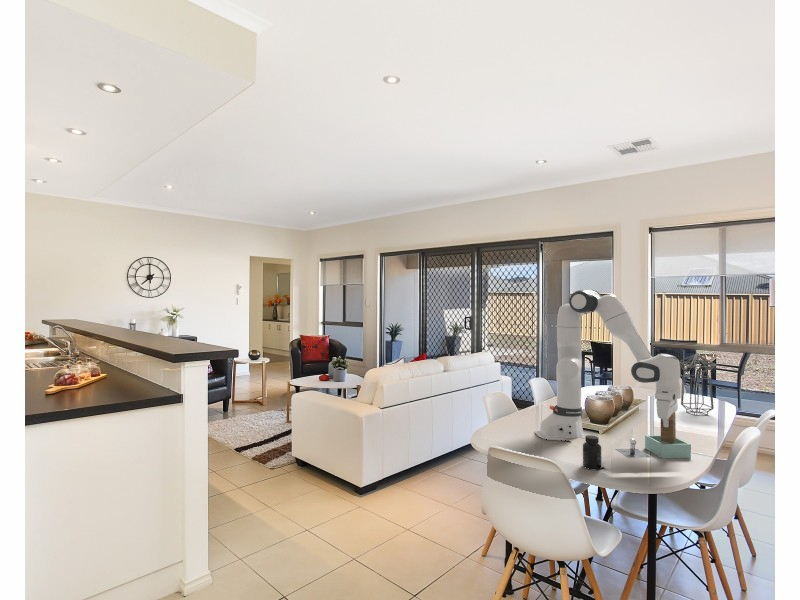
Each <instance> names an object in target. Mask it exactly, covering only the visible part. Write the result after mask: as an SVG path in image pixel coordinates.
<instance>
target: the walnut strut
mask: <svg viewBox="0 0 800 600" xmlns="http://www.w3.org/2000/svg"><path fill="white" fill-rule="evenodd" d="M676 419H677V418H676V412H674V413H673V414H672V415H671V416H670V417H669V427H664V426H663V419H662V418H660V435H661V441H663V442H668V443H674V442H675V441H676V438H677V436H676V433H677V430H676V429H677V428H676V424H677V423H676V421H677V420H676Z"/></svg>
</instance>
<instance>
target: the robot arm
mask: <svg viewBox="0 0 800 600" xmlns="http://www.w3.org/2000/svg"><path fill="white" fill-rule="evenodd" d="M593 312H595V313H597V314H598V315H599V316H600V318H601V320H602V322H603V323H604V326H605V328H606V329H607V330H608V332H609V333H610V334H611V335H612V336H614V338H618V339H619V340H621V341H622V342H624V343H625V344H626V345H627V346H628V348H629V350H630V351H631V353H632V355H633V356H634V359H636V362H635V363H634V364H633V365H632V366H631V368H630V372H631V376H632V378H633V379H634V380H636V382H638V383H643V384H648V383H655V393H654V400H655V399H656V402H655V403H656V415H657V417H658V419H661V418H662V419H663V426H664V427H669V417H670V416H671V415H672V414H673V413H674V412H675V413H676V412H678V399H681V384H680V378H681V367H680V365H681V364H680V363H679V361H680V360H679V359H678V358H677V356H675V355H672V354H668V353H658V354H657V355H655V356H654V355H652V353H651V352H650V351H649V349H648V348H647V346H646V344H645V343H644V341H643V339H642V338H641V336H640V334H639V333H638V331H637V329H636V326H635V323H634V321H633V320H632V317H631V315H630V314H629V312H628V309H626V307H625V305H624V304H623V302H622V301H621V299H619V297H618V296H617V295H616V294H611V293H610V294H604V295H601V293H600V292H598V291H597V290H594V289H579V290H576V291H574V292H573V293H572V294H571V295H570V297H569V299H568V303H565V304H562V305H560V306H559V309H558V312H557V319H556V343H557V346H556V347H557V363H556V367H555V369H556V370H555V371H556V404H555V406H554V405H549V406H548V407H549V409H550V410H552V413H550V414H549V415H548V416H546V417H545V418H543V419H542V420H541V422H540V426H539V428H538V429H535V431H534V432H535V434H536V436H538V437H539V438H541V439H543V440H546V439H547V441H561V440H562V441H563V442H565V440H566V442H570V440H569V439H585V434H584V429H583V422H582V418H583V408H582V366H583V365H582V364H583V358H582V354H583V352H582V318H583V315H588V314H590V313H593ZM562 441H561V442H562Z"/></svg>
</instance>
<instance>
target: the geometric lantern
mask: <svg viewBox="0 0 800 600" xmlns="http://www.w3.org/2000/svg"><path fill="white" fill-rule="evenodd" d="M685 360H686V361H685ZM679 363H680V369H681V370H683V375H681V376H682V379H681V381H682V382H681V393H680V405H681V406H682V407H683V408H684V409H685V412H686V413H688V415H689V414H690V415H692V416H695V417H696V416H698V417H699V416H700V417H701V416H702V417H703V416H704V417H706V416H709V413H710V412H711V411H712V410H714V407H715V406H714V397H713V396H714V395H713V394H714V393H713V381H712V377H711V376H712V371H711V370H713V369H714V368H715V367H717V366H718V364H716V363H715V362H713V361H710V359H708V358H705V357H703V356H702V355H700V354H697V353H695V354H692V355H690V356H687V357H684V358H682V359H680V360H679ZM701 363H702V366H701ZM697 364H698V365H697ZM689 368H690V369H694V370H695V371H696V375H695V377H693V378H692V377H691V376H692V374H690V373H689V371H688V370H689ZM702 368H705V369H704V370H702ZM708 371H709V373H708ZM701 373H702V374H701ZM705 373H706V375H707V376H706V375H704V374H705ZM686 378H687V379H690V383H689V384H690V387H689V389H690V390H689V391H690V392H689V393H690V395H689V402H684V396H685V395H684V394H685V383H686V381H685V380H686ZM696 379H697V392H696ZM692 380H693V381H692ZM700 380H701V393H702V402H699V398H700V397H699V395H700V393H699V392H700V388H699V387H700ZM704 380H708V385H709V395H710V396H709V397H710V405H708V404H705V401H704V400H705V399H704V398H705V397H704ZM692 382H693V385H692ZM692 387H693V388H694V402H692ZM687 405H689V406H687ZM692 405H695V406H694V407H693V408H692ZM699 405H700V407H699ZM703 405H704V406H706V407H708V408H702V407H703ZM698 413H701V414H698Z"/></svg>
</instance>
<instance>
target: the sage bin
mask: <svg viewBox="0 0 800 600" xmlns="http://www.w3.org/2000/svg"><path fill="white" fill-rule="evenodd" d="M644 449H646V450H648V451H649V452H651V453H652V454H654V455H656V456H658V457H660V458H661V459H690V460H691V458H692V444H691V443H689V442H687V441H685V440H682V439H680V438H678V437H676V441H675V442H674V443H668V442H663V441H661V434H660V435H657V434H656V435H655V434H654V435H653V434H652V435H644Z"/></svg>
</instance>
